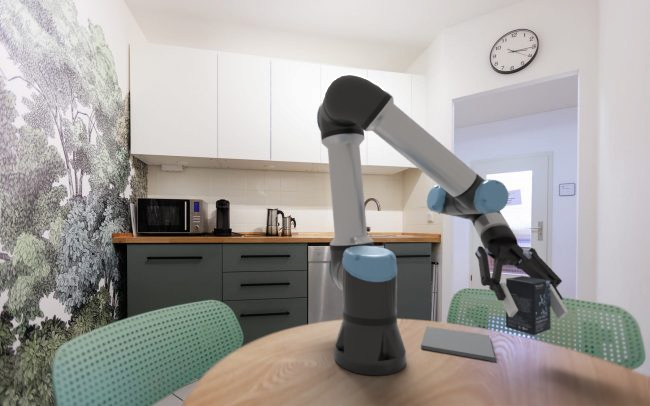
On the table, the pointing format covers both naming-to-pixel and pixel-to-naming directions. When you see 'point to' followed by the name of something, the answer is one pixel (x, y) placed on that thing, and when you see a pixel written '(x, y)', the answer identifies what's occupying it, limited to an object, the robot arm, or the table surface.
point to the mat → (458, 343)
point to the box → (529, 305)
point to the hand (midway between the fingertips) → (538, 314)
